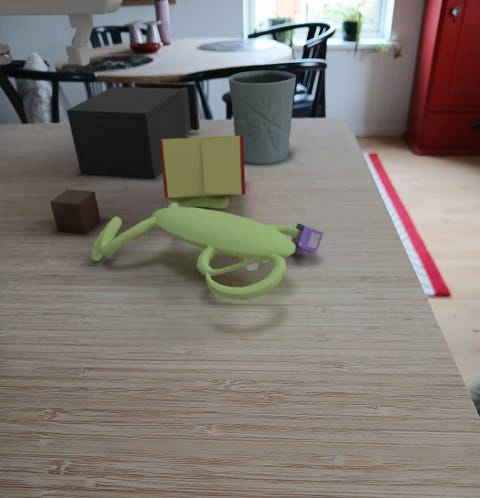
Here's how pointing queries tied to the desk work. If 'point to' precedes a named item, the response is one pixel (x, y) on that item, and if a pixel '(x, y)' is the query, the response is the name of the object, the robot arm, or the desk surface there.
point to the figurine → (219, 240)
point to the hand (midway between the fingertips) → (40, 64)
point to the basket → (188, 100)
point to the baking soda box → (203, 166)
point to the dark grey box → (126, 130)
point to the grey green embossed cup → (263, 113)
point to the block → (75, 211)
